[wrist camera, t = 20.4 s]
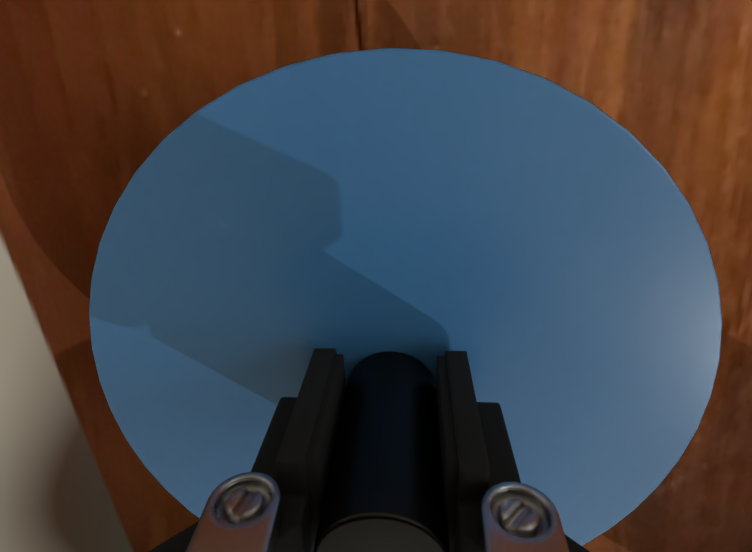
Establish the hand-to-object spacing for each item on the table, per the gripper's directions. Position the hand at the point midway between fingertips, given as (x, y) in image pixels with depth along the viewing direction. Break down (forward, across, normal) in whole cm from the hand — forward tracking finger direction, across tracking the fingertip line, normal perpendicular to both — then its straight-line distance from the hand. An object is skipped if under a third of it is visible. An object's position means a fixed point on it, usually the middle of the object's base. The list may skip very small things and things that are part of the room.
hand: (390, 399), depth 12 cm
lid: (+1, 0, 0) cm, 1 cm away
